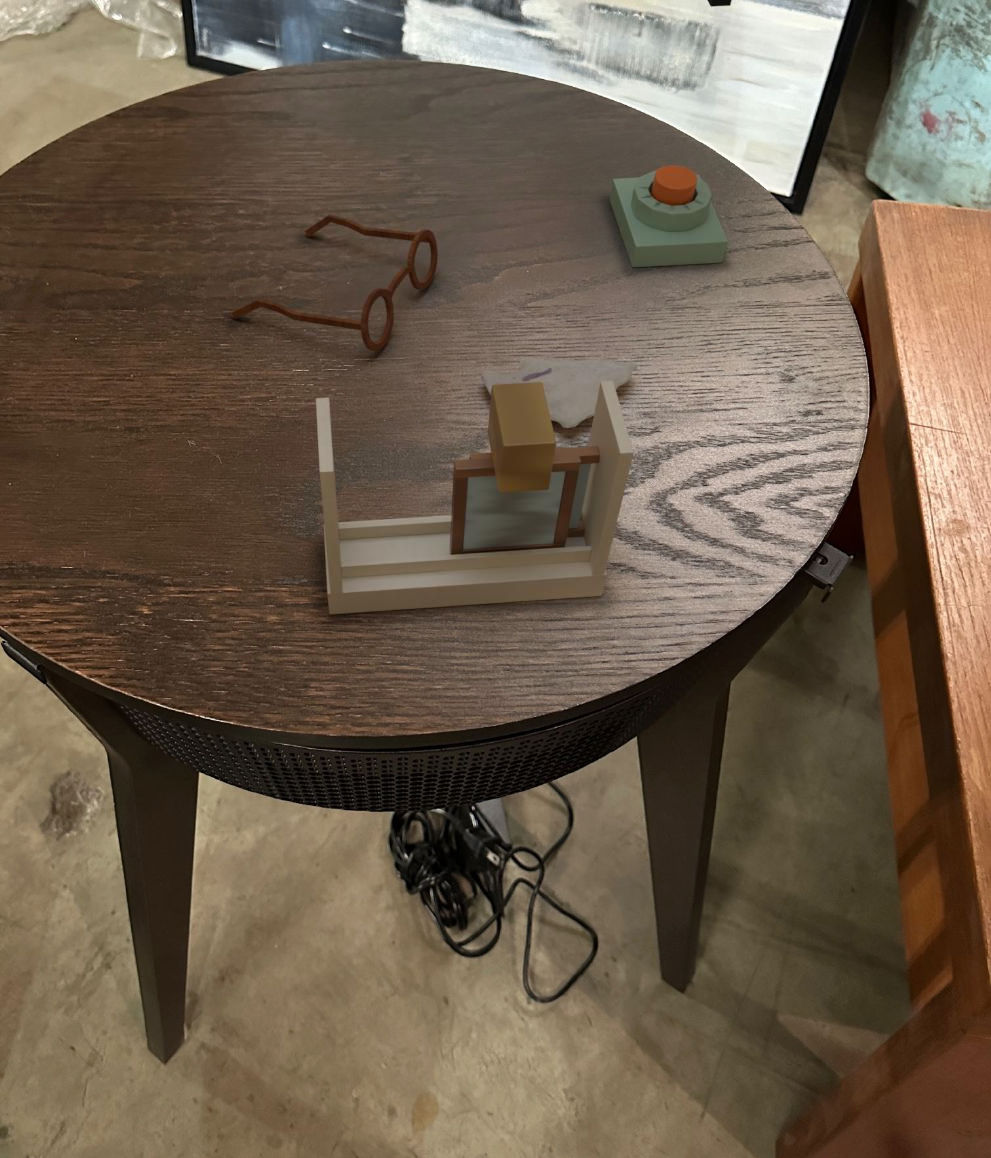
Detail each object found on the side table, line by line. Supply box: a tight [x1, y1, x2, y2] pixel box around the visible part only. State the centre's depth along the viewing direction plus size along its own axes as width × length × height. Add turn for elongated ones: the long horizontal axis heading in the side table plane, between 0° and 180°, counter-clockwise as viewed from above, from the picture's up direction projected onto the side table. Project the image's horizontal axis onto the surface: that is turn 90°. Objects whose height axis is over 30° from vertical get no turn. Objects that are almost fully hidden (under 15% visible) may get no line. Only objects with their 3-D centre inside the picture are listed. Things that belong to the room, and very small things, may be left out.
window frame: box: [315, 381, 635, 615], centre depth 70 cm, size 18×6×14 cm, turn 95°
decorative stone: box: [480, 356, 638, 429], centre depth 85 cm, size 8×12×3 cm
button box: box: [609, 169, 729, 268], centre depth 97 cm, size 8×10×4 cm
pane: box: [449, 382, 581, 555], centre depth 68 cm, size 8×5×13 cm, turn 95°
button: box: [651, 164, 697, 206], centre depth 95 cm, size 4×4×2 cm
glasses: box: [231, 214, 439, 352], centre depth 91 cm, size 13×13×5 cm
